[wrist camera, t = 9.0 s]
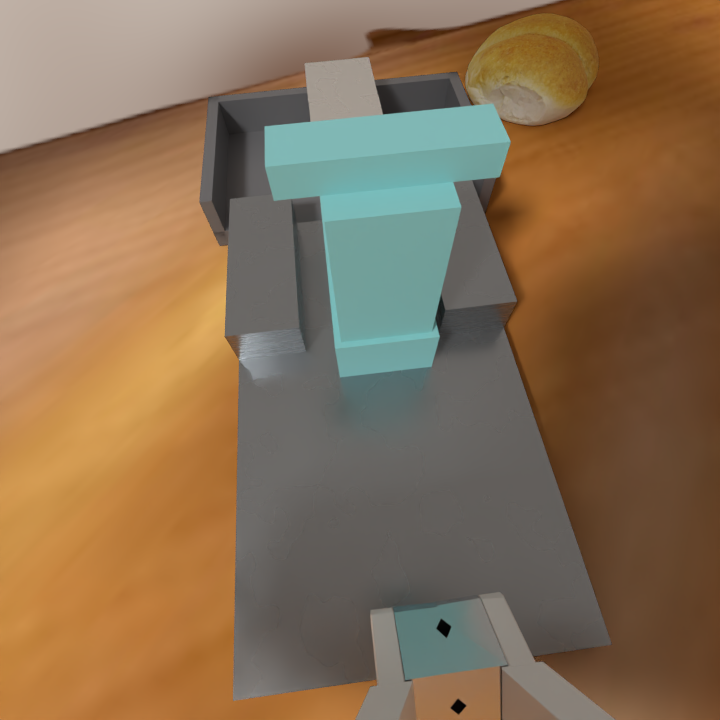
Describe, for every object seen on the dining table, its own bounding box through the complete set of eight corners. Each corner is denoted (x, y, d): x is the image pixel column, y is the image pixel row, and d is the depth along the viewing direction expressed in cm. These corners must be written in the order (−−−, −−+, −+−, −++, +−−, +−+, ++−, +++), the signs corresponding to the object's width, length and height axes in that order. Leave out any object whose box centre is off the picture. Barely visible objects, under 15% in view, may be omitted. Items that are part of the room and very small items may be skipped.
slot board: (242, 692, 14) (210, 720, 11) (246, 242, 23) (230, 199, 20) (597, 640, 14) (649, 655, 11) (458, 218, 23) (469, 172, 21)
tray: (219, 245, 23) (199, 202, 20) (224, 144, 27) (208, 97, 24) (484, 215, 23) (498, 169, 21) (448, 120, 28) (457, 71, 25)
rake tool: (316, 380, 18) (265, 201, 9) (304, 215, 22) (263, -3, 14) (454, 364, 18) (525, 174, 9) (413, 203, 23) (437, -19, 14)
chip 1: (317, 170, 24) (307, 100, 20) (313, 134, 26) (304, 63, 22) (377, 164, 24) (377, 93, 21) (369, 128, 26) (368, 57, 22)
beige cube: (322, 213, 22) (312, 144, 19) (318, 170, 24) (308, 100, 20) (386, 206, 22) (388, 137, 19) (377, 164, 24) (377, 93, 21)
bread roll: (598, 72, 30) (628, 5, 27) (564, 142, 26) (593, 75, 23) (490, 47, 32) (505, -19, 29) (445, 109, 28) (455, 42, 25)
